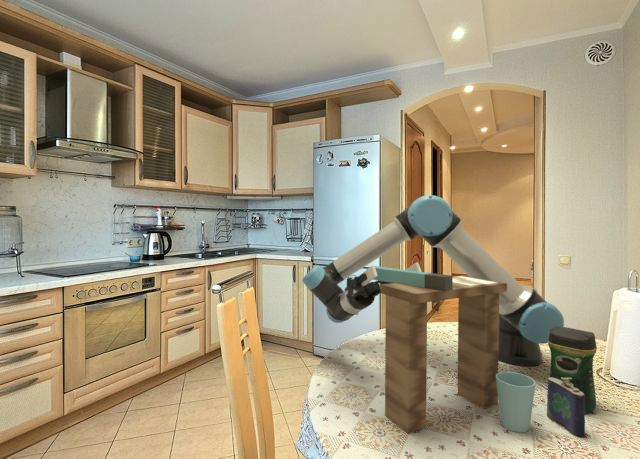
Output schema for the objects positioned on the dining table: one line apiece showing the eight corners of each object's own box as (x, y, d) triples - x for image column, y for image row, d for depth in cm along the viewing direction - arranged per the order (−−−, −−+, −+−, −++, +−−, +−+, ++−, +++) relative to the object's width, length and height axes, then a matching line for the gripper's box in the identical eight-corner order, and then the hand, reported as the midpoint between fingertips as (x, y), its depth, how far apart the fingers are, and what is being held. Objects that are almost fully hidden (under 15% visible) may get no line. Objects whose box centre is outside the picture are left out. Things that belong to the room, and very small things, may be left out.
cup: (543, 430, 78) (543, 382, 78) (518, 439, 75) (519, 389, 74) (511, 413, 85) (512, 369, 85) (487, 421, 82) (488, 375, 81)
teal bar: (374, 277, 95) (374, 266, 95) (452, 289, 79) (452, 275, 79) (366, 278, 93) (366, 266, 93) (445, 291, 77) (445, 277, 77)
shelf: (465, 387, 98) (466, 275, 97) (505, 407, 87) (507, 282, 87) (379, 411, 86) (380, 283, 85) (414, 438, 75) (415, 292, 74)
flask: (543, 415, 84) (544, 369, 84) (555, 414, 85) (556, 368, 84) (577, 439, 75) (578, 387, 75) (590, 437, 75) (591, 386, 75)
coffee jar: (599, 406, 88) (601, 330, 88) (590, 417, 83) (592, 337, 82) (553, 392, 95) (555, 321, 95) (543, 401, 90) (544, 327, 90)
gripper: (395, 305, 111) (440, 279, 94) (322, 314, 100) (358, 287, 83) (388, 282, 114) (430, 253, 97) (316, 288, 103) (350, 257, 86)
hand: (397, 268), depth 90 cm, fingers open, 13 cm apart
